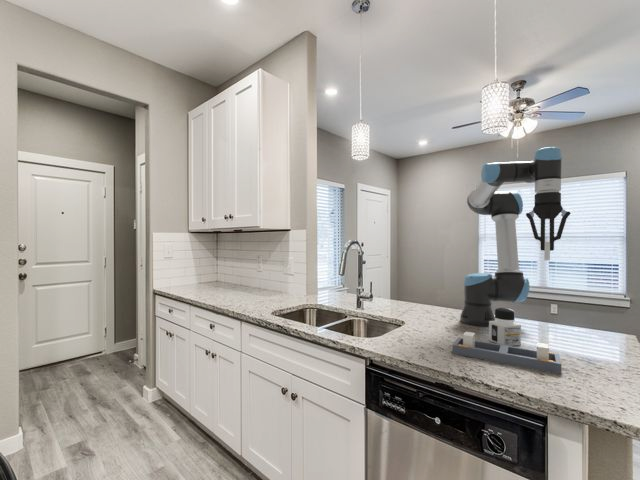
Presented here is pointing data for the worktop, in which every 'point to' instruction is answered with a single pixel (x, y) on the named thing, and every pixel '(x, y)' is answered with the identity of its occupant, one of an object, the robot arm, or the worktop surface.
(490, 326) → the container
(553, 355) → the tray
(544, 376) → the worktop surface
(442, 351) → the worktop surface
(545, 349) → the tab
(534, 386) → the worktop surface
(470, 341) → the tab
